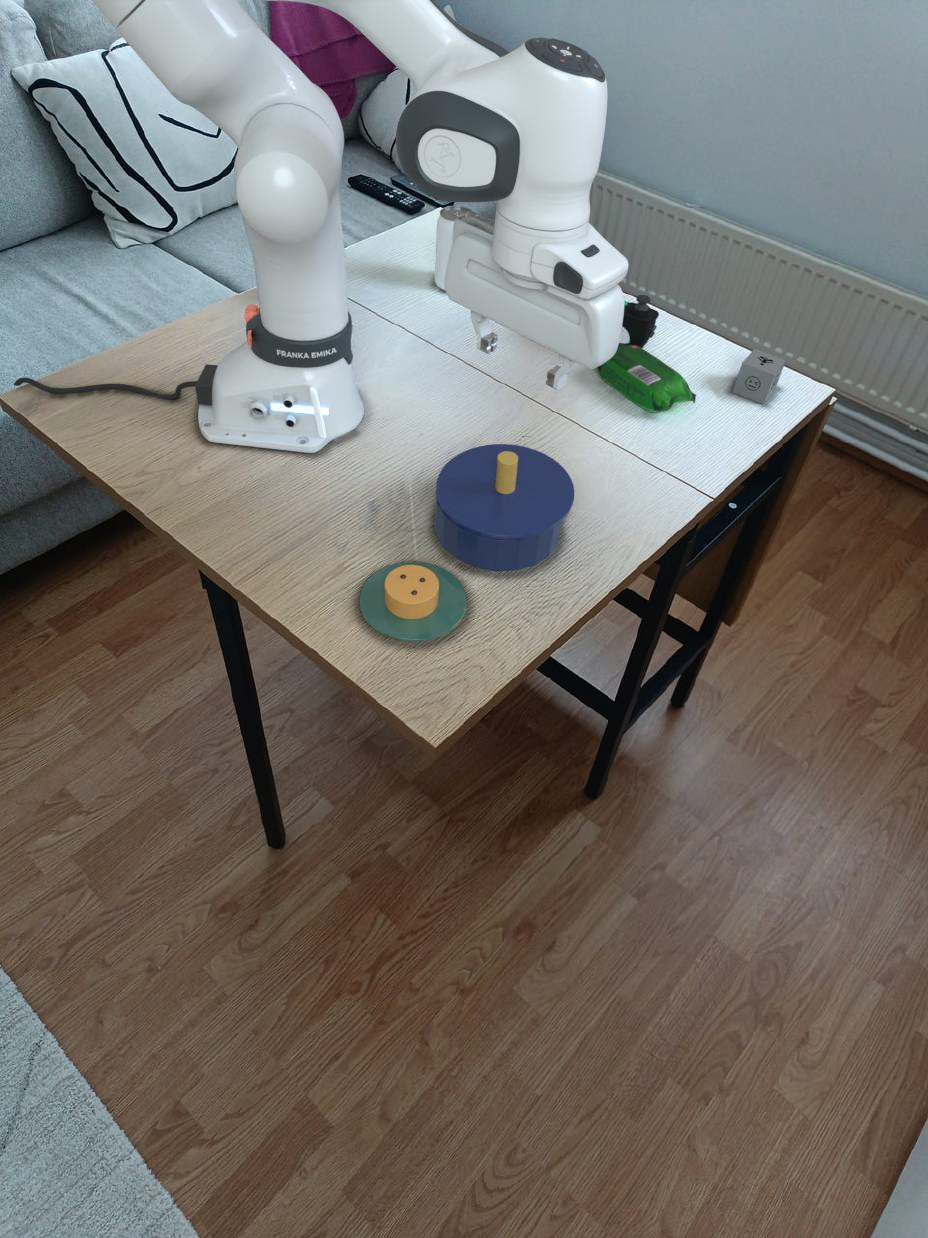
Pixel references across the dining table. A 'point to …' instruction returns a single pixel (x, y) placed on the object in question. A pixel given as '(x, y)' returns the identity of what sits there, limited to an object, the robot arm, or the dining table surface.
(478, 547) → the cookie tin
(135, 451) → the dining table surface
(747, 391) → the dice cube
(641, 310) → the controller
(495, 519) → the tin lid
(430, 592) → the cookie
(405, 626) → the plate
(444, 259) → the can
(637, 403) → the snack package
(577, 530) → the dining table surface
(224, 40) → the robot arm
